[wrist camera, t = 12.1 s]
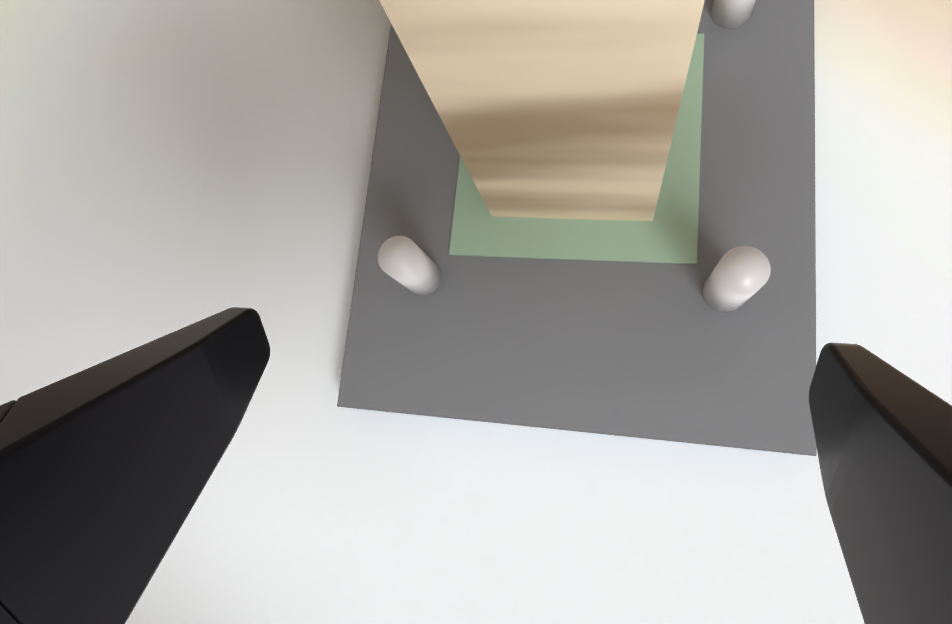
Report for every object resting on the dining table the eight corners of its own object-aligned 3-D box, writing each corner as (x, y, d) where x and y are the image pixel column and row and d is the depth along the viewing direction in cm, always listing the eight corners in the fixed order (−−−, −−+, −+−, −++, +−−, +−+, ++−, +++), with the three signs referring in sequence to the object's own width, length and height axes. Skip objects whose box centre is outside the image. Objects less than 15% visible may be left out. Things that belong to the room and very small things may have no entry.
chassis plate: (804, 454, 16) (855, 460, 13) (349, 407, 20) (297, 402, 16) (803, -87, 20) (844, -193, 16) (413, -52, 23) (380, -135, 20)
